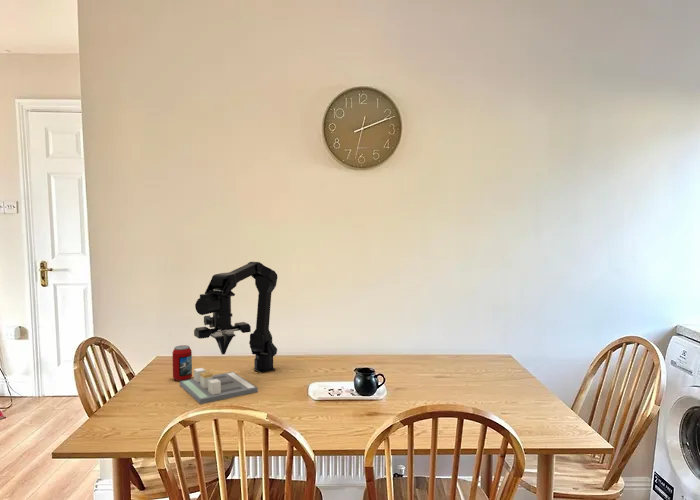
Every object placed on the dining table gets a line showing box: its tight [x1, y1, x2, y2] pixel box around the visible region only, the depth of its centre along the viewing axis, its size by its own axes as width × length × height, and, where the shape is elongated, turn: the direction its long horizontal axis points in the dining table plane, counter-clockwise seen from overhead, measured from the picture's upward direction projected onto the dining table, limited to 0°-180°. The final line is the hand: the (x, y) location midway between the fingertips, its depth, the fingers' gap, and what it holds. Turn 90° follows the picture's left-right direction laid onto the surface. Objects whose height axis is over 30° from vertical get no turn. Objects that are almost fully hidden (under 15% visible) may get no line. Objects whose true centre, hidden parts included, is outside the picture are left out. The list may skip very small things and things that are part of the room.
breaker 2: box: [208, 379, 221, 395], centre depth 166 cm, size 3×4×4 cm
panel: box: [179, 371, 259, 405], centre depth 175 cm, size 20×22×2 cm
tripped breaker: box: [200, 371, 214, 389], centre depth 172 cm, size 3×4×4 cm
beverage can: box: [172, 344, 193, 382], centre depth 185 cm, size 7×7×12 cm
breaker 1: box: [193, 367, 206, 383], centre depth 179 cm, size 3×4×4 cm
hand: (223, 354), depth 175 cm, fingers closed
